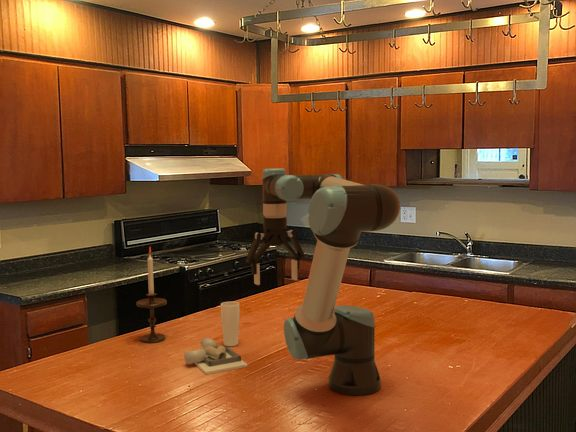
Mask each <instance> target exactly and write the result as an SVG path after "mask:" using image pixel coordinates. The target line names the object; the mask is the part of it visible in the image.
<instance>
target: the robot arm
mask: <svg viewBox="0 0 576 432" xmlns="http://www.w3.org/2000/svg"><path fill="white" fill-rule="evenodd" d="M261 177H262V178H261V183H262V212H263V213H262V215H263V216H264V217H263V218H262V219H263V220H262V223H263V226H262V227H263V233H260V232H255V233H253V242H252V243H251V245H250V248H249V250H248V253H247V255H246V257H245V262H246V263H249V264H250V265H251V269H250V270H251V274H252V275H253V280H254V281H253V283H254V284H255V285H256V286H260V285H261V271H260V270H261V269H260V268H261V267H260V264H259V262H260V260H261V259H262V257H263V255H264V254H265V253H266V252H267V250H268V249H269V248H270V247H275V246H282V247H283V248H284V249H285V250H286V251H287V252H288V254H289V255H290V256H291V258H292V259H291V261H290V262H291V265H290V266H291V267H290V268H291V270H290V271H291V280H294V281H298V280H299V279H298V270H300V261H301V260H302V258H305V256H306V255H305V252H304V251H303V248H302V247H301V245H300V242H299V240H298V238H297V234H296V233H297V232H296V230H294V229H289V230H288V231H287V227H288V223H287V222H288V219H287V208H288V207H287V202H288V201H290V202H291V201H292V202H293V201H296V200H310V201H309V206H308V208H307V209H308V212H307V213H308V217H307V218H308V219H307V220H308V225H309V228H310V229H311V231H312V233H313V235H314V237H315V239H316V244H315V249H314V253H313V256H312V257H313V258H312V262H311V266H310V270H309V273H308V279H307V284H306V288H305V292H304V295H303V296H304V297H303V300H302V301H303V302H302V304H300V305H299V306H298V307H297V308H295V310H294V311H295V312H294V316H293V317H288V318H286V319H285V320H284V322H283V334H284V339H285V344H286V347H287V350H288V353H289V354H290V355H291V357H292V358H293V359H294V360H309V359H315V358H323V357H327V356H328V357H329V356H333V357H334V360H333V362H332V365H331V366H332V367H331V369H330V373H329V376H328V388H330V390H332V391H333V392H335V393H338V394H341V395H347V396H365V395H370V394H374V393H376V392H378V391H379V390H380V389H381V387H382V386H381V383H382V382H381V381H382V379H381V377H380V373H379V370H378V367H377V364H376V359H375V348H376V347H375V345H376V343H375V342H376V341H375V340H376V339H375V338H376V337H375V334H376V333H375V329H376V323H375V322H376V320H375V315H374V312H372V311H371V310H370V309H368V308H365V307H361V306H356V305H355V306H354V305H345V304H341V305H336V303H337V299H338V296H339V295H338V294H339V292H340V287H341V283H342V280H343V277H344V273H345V269H346V265H347V262H348V257H349V255H350V254H349V253H350V251H351V248H353V247H356V246H357V244H358V243H359V240H360V236H361V233H367V232H378V231H381V230H385V229H386V228H389V227H390V226H391V225H392V224H394V223H395V221H396V220H397V218H398V216H399V214H400V211H401V204H400V199H399V196H398V194H397V192H395V191H394V190H393V188H390V187H389V186H386V185H382V184H376V183H374V184H372V183H371V184H362V183H358V182H354V181H350V180H347V179H344V178H343V177H342V175H340V174H338V173H335V174H334V173H325V174H287V171H286V169H285V168H282V167H281V168H280V167H279V168H264V169H263V170H262V176H261ZM288 237H289V239H290V242H291V244H292V245H293V247H294V248H293V247H292V246H291V245H290V243H289V242H288V240H287V239H286V238H288ZM263 239H264V241H263V242H262V243H261V241H262V240H263ZM260 244H261V246H260ZM259 246H260V247H259Z"/></svg>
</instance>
